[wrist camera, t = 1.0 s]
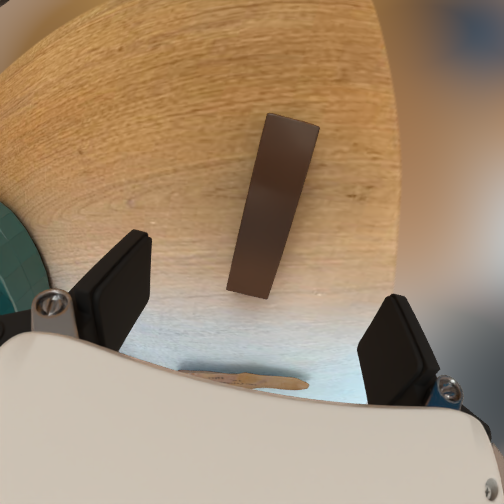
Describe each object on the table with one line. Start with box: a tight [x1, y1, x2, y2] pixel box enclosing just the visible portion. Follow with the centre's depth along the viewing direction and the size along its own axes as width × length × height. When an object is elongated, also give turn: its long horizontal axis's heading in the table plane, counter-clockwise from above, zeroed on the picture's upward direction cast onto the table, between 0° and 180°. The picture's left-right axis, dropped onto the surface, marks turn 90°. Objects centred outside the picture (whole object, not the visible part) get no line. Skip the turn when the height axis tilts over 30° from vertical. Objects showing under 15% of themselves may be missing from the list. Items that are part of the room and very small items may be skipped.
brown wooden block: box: [226, 113, 320, 299], centre depth 19 cm, size 12×3×4 cm, turn 167°
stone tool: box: [179, 370, 309, 390], centre depth 29 cm, size 5×2×15 cm
